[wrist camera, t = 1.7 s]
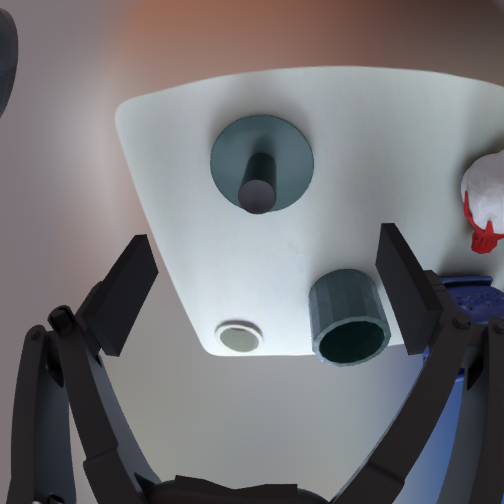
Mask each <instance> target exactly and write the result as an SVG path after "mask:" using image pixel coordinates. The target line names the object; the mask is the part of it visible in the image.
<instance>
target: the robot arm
mask: <svg viewBox="0 0 504 504" xmlns="http://www.w3.org/2000/svg"><path fill="white" fill-rule="evenodd" d="M375 265H376V268H377V270H378V272H379V275H380V277H381V280H382V282H383V285H384V287H385V290H386V293H387V295H388V298H389V300H390V303H391V306H392V309H393V311H394V314H395V317H396V320H397V322H398V325H399V328H400V331H401V334H402V337H403V340H404V343H405V346H406V349H407V352H408V355H415V354H421V353H424V351H425V349H426V347H427V345H428V347H429V349H430V353H429V355H428V357H427V359H426V361H425V363H424V365H423V367H422V369H421V371H420V373H419V375H418V377H417V379H416V381H415V383H414V384H413V386H412V388H411V390H410V392H409V393H408V395H407V397H406V399H405V400H404V402H403V404H402V405H401V407H400V409H399V410H398V412H397V414H396V415H395V417H394V419H393V420H392V422H391V423H390V425H389V426H388V428H387V429H386V431H385V432H384V434H383V435H382V437H381V438H380V440H379V441H378V442H377V444H376V445H375V447H374V448H373V450H372V451H371V452H370V454H369V455H368V456H367V458H366V459H365V461H364V462H363V463H362V464H361V466H360V467H359V468H358V470H357V471H356V472H355V473H354V474H353V476H352V477H351V478H350V479H349V481H348V482H347V483H346V484H345V485H344V486H343V487H342V488H341V489H340V491H339V492H338V493H337V494H336V495H335V496H334V497H333V498H332V500H331V501H330V502H328V501H327V500H325V499H324V498H322V497H321V496H319V495H317V494H315V493H313V492H310V491H307V490H304V489H299V488H297V484H265V485H259V486H254V487H248V488H241V489H230V488H227V487H224V486H221V485H218V484H215V483H213V482H210V481H207V480H204V479H198V478H192V477H185V476H179V475H176V477H175V480H170V481H165V482H161V480H160V479H159V477H158V476H157V475H156V474H155V473H154V472H153V470H152V469H151V468H150V466H149V464H148V463H147V461H146V459H145V457H144V455H143V453H142V452H141V449H140V448H139V446H138V444H137V442H136V440H135V438H134V436H133V434H132V431H131V429H130V427H129V425H128V423H127V421H126V419H125V416H124V414H123V412H122V410H121V407H120V405H119V403H118V400H117V398H116V395H115V393H114V391H113V388H112V386H111V383H110V380H109V378H108V375H107V372H106V369H105V367H104V364H103V361H102V358H101V356H100V355H99V351H100V349H101V348H102V349H103V351H104V352H105V354H106V355H109V356H116V357H119V355H120V353H121V351H122V349H123V346H124V344H125V342H126V339H127V337H128V335H129V333H130V331H131V328H132V326H133V324H134V322H135V320H136V318H137V316H138V313H139V311H140V309H141V307H142V305H143V303H144V301H145V299H146V297H147V295H148V293H149V291H150V289H151V287H152V285H153V283H154V281H155V279H156V277H157V275H158V273H159V272H158V269H157V266H156V263H155V260H154V257H153V254H152V251H151V248H150V245H149V241H148V238H147V235H146V234H144V235H135V236H134V237H133V239H132V240H131V242H130V243H129V244H128V246H127V247H126V248H125V250H124V251H123V253H122V254H121V255H120V257H119V258H118V260H117V261H116V263H115V264H114V265H113V267H112V268H111V270H110V271H109V273H108V274H107V276H106V277H105V279H104V280H103V281H100V282H98V283H97V284H96V285H95V286H94V287H93V288H92V289H91V291H90V293H89V294H88V296H87V297H86V299H85V301H84V302H83V303H82V305H81V306H80V308H79V309H78V311H77V312H76V314H75V316H74V314H73V313H72V311H71V309H70V307H69V306H67V305H62V306H59V307H57V308H55V309H54V310H53V311H52V312H51V313H50V314H49V316H48V322H49V324H50V325H51V326H52V328H53V331H48V332H47V331H46V330H45V328H44V326H42V325H36V326H34V327H32V328H31V329H30V330H29V331H28V332H27V334H26V336H25V341H24V345H23V350H22V355H21V360H20V366H19V371H18V377H17V384H16V391H15V399H14V408H13V419H12V435H11V481H10V486H9V491H8V496H7V502H6V504H76V490H75V482H74V475H73V467H72V457H71V445H70V430H69V402H70V406H71V410H72V414H73V417H74V421H75V424H76V427H77V431H78V434H79V437H80V440H81V443H82V446H83V449H84V452H85V454H86V460H85V461H84V462H83V468H84V471H85V474H86V476H87V479H88V481H89V484H90V486H91V489H92V491H93V493H94V496H95V498H96V500H97V502H98V504H392V503H393V502H394V500H395V499H396V497H397V496H398V494H399V493H400V491H401V490H402V488H403V486H404V483H405V478H406V476H407V475H408V473H409V472H410V470H411V468H412V467H413V465H414V464H415V462H416V460H417V458H418V457H419V455H420V453H421V452H422V450H423V448H424V446H425V444H426V442H427V441H428V439H429V437H430V435H431V433H432V431H433V429H434V427H435V425H436V423H437V421H438V419H439V417H440V415H441V413H442V411H443V409H444V406H445V404H446V402H447V400H448V398H449V395H450V393H451V390H452V388H453V386H454V383H455V381H456V378H457V375H458V373H459V370H460V367H461V368H465V370H464V382H463V390H462V398H461V406H460V412H459V419H458V424H457V430H456V435H455V439H454V444H453V449H452V452H451V457H450V461H449V464H448V468H447V472H446V475H445V479H444V482H443V485H442V488H441V491H440V495H439V498H438V500H437V503H436V504H501V501H502V497H503V493H504V319H503V318H500V317H492V318H491V319H490V320H489V321H488V323H487V325H486V324H479V323H473V322H472V319H471V318H470V317H469V316H468V315H467V314H465V313H464V312H460V311H458V309H457V307H456V306H455V304H454V302H453V300H452V298H451V297H450V295H449V293H448V291H446V290H447V289H446V288H445V286H444V285H443V283H442V281H441V279H440V277H439V276H438V275H437V274H436V273H434V272H433V271H432V270H423V269H422V267H421V266H420V264H419V262H418V261H417V259H416V257H415V255H414V254H413V252H412V251H411V249H410V247H409V246H408V244H407V242H406V241H405V239H404V238H403V236H402V234H401V233H400V231H399V230H398V228H397V227H396V225H395V224H394V223H382V224H381V231H380V238H379V245H378V252H377V258H376V264H375Z"/></svg>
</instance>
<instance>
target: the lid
mask: <svg viewBox="0 0 504 504" xmlns="http://www.w3.org/2000/svg"><path fill="white" fill-rule="evenodd" d="M210 166H211V173H212V177H213V180H214V182H215V184H216V186H217V188H218V189H219V191H220V192H221V193H222V194H223V196H224V197H225V198H226V199H228V200H229V201H230V202H231V203H233V204H234V205H236V206H238V207H240V208H242V209H244V210H246V211H247V212H249V213H252V214H263V213H266V212H273V211H278V210H281V209H284V208H286V207H288V206H290V205H291V204H293V203H294V202H296V201H297V200H298V199H299V198H300V197H301V196H302V195H303V194H304V192H305V191H306V190H307V188H308V186H309V184H310V182H311V179H312V175H313V170H314V161H313V155H312V151H311V148H310V146H309V144H308V142H307V140H306V138H305V137H304V136H303V134H302V133H301V132H300V131H299V130H298V129H297V128H296V127H295V126H293V125H292V124H290V123H289V122H287V121H285V120H283V119H280V118H277V117H274V116H268V115H255V116H249V117H245V118H242V119H240V120H238V121H236V122H234V123H233V124H231V125H230V126H229V127H227V128H226V129H225V130H224V131H223V132H222V133H221V135H220V136H219V137H218V139H217V140H216V142H215V144H214V147H213V150H212V153H211V160H210Z"/></svg>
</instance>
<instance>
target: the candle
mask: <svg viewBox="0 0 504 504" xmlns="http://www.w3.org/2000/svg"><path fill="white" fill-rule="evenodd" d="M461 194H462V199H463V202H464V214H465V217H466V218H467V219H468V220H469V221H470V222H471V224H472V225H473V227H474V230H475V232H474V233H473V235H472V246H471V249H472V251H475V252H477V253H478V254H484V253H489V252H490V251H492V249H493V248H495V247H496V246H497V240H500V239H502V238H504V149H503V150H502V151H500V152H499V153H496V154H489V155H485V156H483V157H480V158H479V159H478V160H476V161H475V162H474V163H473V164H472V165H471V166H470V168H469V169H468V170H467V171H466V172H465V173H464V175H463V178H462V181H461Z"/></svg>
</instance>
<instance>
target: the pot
mask: <svg viewBox="0 0 504 504" xmlns="http://www.w3.org/2000/svg"><path fill="white" fill-rule="evenodd" d="M309 314H310V326H311V338H312V350H313V352H314V354H315V355H316V357H317V359H319V360H320V361H322V362H324V363H326V364H328V365H333V366H340V367H341V366H353V365H356V364H360V363H363V362H367V361H368V360H370V359H372V358H374V357H375V356H377V355H379V354H380V353H381V352H382V351H383V350H384V348H385V347H386V346H387V345H388V343H389V340H390V337H391V332H390V328H389V324H388V321H387V318H386V315H385V312H384V309H383V306H382V303H381V301H380V298H379V295H378V292H377V289H376V287H375V284H374V282H373V281H372V279H371V278H370V277H369V276H368V275H367V274H365V273H363V272H361V271H357V270H352V269H344V270H338V271H334V272H331V273H329V274H327V275H325V276H323V277H322V278H321V279H319V280H318V281H317V282H316V283H315V284H314V286H313V287H312V289H311V291H310V294H309Z"/></svg>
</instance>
